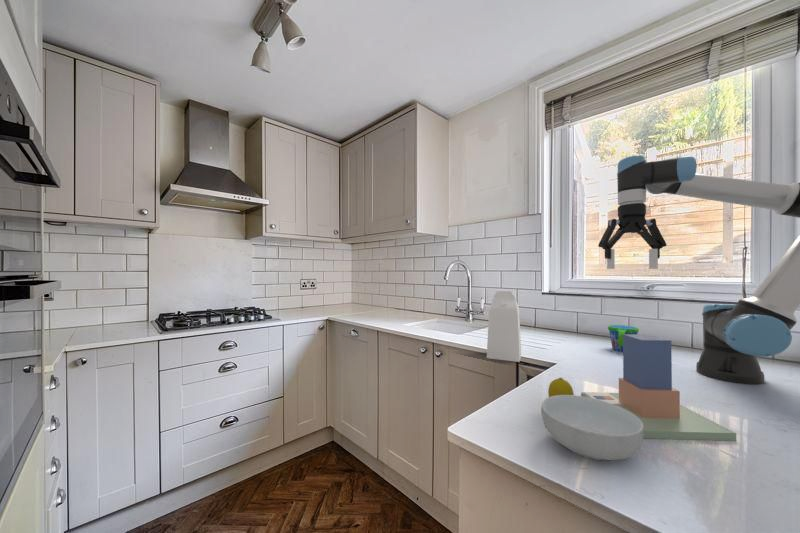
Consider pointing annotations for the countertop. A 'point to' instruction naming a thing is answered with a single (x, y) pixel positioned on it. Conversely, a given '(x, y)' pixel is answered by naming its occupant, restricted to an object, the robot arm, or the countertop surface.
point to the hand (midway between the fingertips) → (632, 268)
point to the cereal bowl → (592, 427)
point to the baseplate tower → (663, 413)
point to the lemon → (560, 388)
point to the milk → (504, 328)
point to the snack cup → (620, 335)
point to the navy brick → (647, 361)
